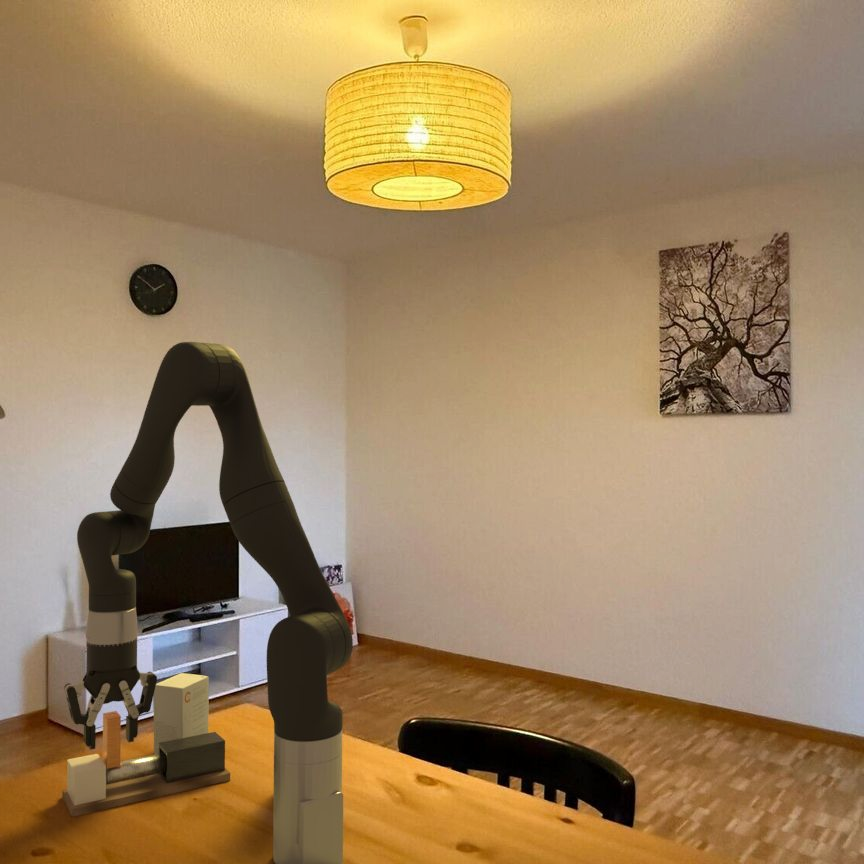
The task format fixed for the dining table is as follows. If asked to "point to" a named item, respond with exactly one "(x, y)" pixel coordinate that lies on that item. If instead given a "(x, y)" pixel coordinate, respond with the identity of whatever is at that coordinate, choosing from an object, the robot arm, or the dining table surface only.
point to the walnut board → (142, 791)
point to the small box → (180, 708)
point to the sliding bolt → (127, 768)
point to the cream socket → (86, 779)
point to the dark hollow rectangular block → (193, 756)
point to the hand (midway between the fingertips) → (111, 743)
